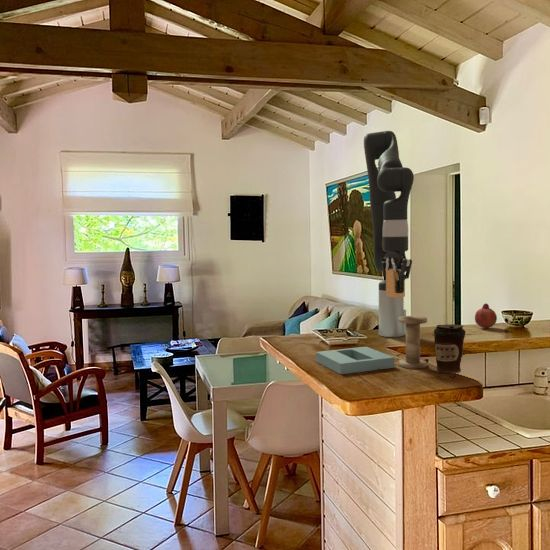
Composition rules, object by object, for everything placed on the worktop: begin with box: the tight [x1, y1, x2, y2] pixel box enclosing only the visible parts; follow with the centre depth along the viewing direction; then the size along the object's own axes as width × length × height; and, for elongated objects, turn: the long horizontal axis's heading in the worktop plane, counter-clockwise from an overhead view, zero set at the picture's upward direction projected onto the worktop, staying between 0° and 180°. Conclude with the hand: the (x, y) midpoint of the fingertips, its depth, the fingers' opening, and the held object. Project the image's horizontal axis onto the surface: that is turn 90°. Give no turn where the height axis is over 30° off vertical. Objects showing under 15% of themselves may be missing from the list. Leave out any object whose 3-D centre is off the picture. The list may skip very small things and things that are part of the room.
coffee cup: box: [433, 323, 466, 374], centre depth 150 cm, size 9×8×13 cm
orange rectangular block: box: [385, 269, 406, 298], centre depth 162 cm, size 4×4×8 cm
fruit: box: [474, 303, 498, 329], centre depth 212 cm, size 8×8×10 cm
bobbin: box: [398, 315, 428, 370], centre depth 158 cm, size 8×8×14 cm
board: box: [315, 346, 396, 375], centre depth 160 cm, size 18×16×3 cm
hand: (395, 292), depth 162 cm, fingers closed on orange rectangular block, 4 cm apart
